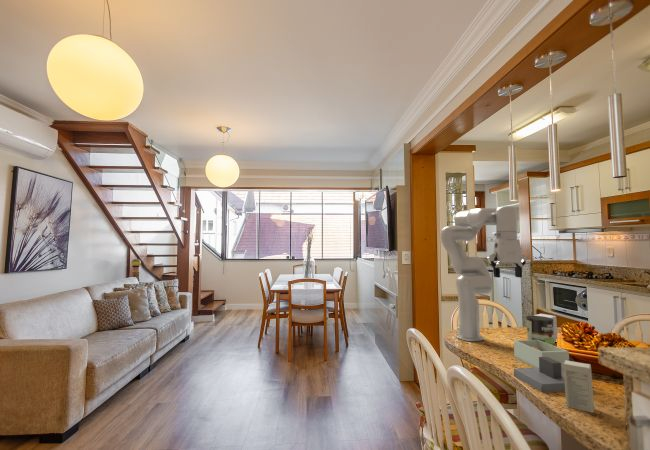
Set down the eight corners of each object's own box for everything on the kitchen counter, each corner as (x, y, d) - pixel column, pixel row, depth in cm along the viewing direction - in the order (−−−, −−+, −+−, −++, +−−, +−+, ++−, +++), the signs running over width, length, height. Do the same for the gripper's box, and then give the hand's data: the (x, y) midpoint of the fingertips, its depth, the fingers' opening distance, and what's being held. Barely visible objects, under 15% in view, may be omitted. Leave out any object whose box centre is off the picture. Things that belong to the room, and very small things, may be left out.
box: (514, 357, 135) (513, 340, 135) (538, 356, 136) (538, 339, 136) (542, 371, 120) (541, 352, 120) (569, 370, 121) (568, 351, 121)
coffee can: (560, 352, 142) (559, 319, 142) (542, 354, 139) (540, 321, 140) (539, 345, 151) (538, 314, 152) (521, 347, 149) (520, 316, 150)
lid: (542, 392, 102) (541, 367, 103) (514, 376, 115) (513, 354, 116) (590, 390, 104) (589, 366, 105) (557, 374, 117) (556, 352, 118)
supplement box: (541, 338, 162) (540, 313, 163) (558, 342, 156) (557, 316, 157) (533, 341, 159) (532, 314, 159) (550, 345, 152) (549, 317, 153)
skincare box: (594, 408, 93) (592, 364, 94) (593, 414, 90) (591, 368, 90) (566, 400, 97) (564, 359, 98) (564, 406, 94) (563, 362, 95)
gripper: (492, 235, 131) (494, 278, 130) (532, 236, 133) (533, 278, 132) (481, 236, 139) (482, 276, 138) (519, 236, 141) (520, 276, 140)
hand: (507, 277), depth 135 cm, fingers open, 9 cm apart
